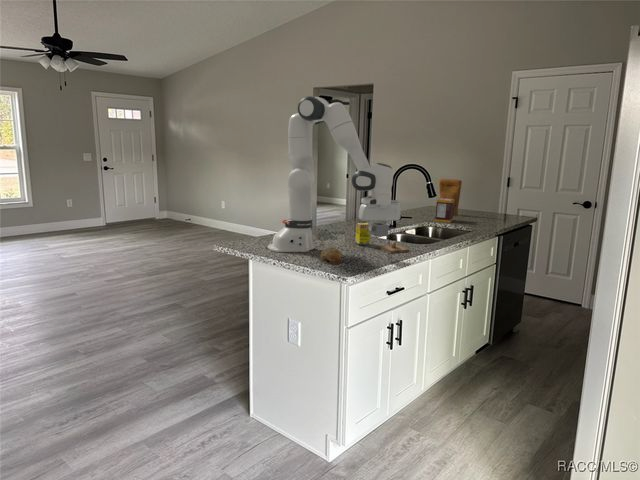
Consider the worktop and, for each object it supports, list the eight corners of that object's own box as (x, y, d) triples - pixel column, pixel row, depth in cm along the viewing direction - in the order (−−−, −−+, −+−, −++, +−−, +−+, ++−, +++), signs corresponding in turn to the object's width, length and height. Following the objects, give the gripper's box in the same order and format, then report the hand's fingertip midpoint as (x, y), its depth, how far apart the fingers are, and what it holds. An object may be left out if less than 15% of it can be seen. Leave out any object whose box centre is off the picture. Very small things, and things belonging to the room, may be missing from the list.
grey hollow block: (375, 236, 206) (376, 225, 205) (368, 233, 212) (369, 222, 211) (388, 236, 209) (388, 225, 208) (380, 233, 214) (381, 222, 213)
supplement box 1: (359, 245, 236) (360, 224, 234) (355, 243, 242) (356, 222, 240) (369, 245, 238) (371, 224, 236) (365, 243, 244) (366, 222, 241)
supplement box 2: (453, 220, 337) (455, 198, 334) (449, 222, 324) (451, 200, 321) (438, 218, 342) (440, 197, 338) (434, 221, 328) (436, 199, 325)
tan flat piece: (389, 253, 222) (390, 244, 221) (378, 248, 232) (378, 240, 231) (409, 251, 226) (409, 243, 226) (397, 247, 236) (397, 239, 235)
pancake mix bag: (456, 216, 355) (460, 180, 350) (435, 213, 368) (438, 178, 363) (460, 215, 360) (464, 179, 354) (439, 212, 373) (442, 178, 368)
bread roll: (317, 269, 202) (315, 255, 197) (325, 255, 209) (323, 241, 205) (339, 272, 198) (337, 257, 194) (346, 258, 206) (344, 243, 201)
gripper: (397, 199, 214) (394, 228, 217) (358, 198, 206) (355, 229, 209) (404, 201, 208) (401, 231, 211) (364, 200, 200) (362, 232, 203)
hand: (378, 230), depth 210 cm, fingers closed on grey hollow block, 6 cm apart
